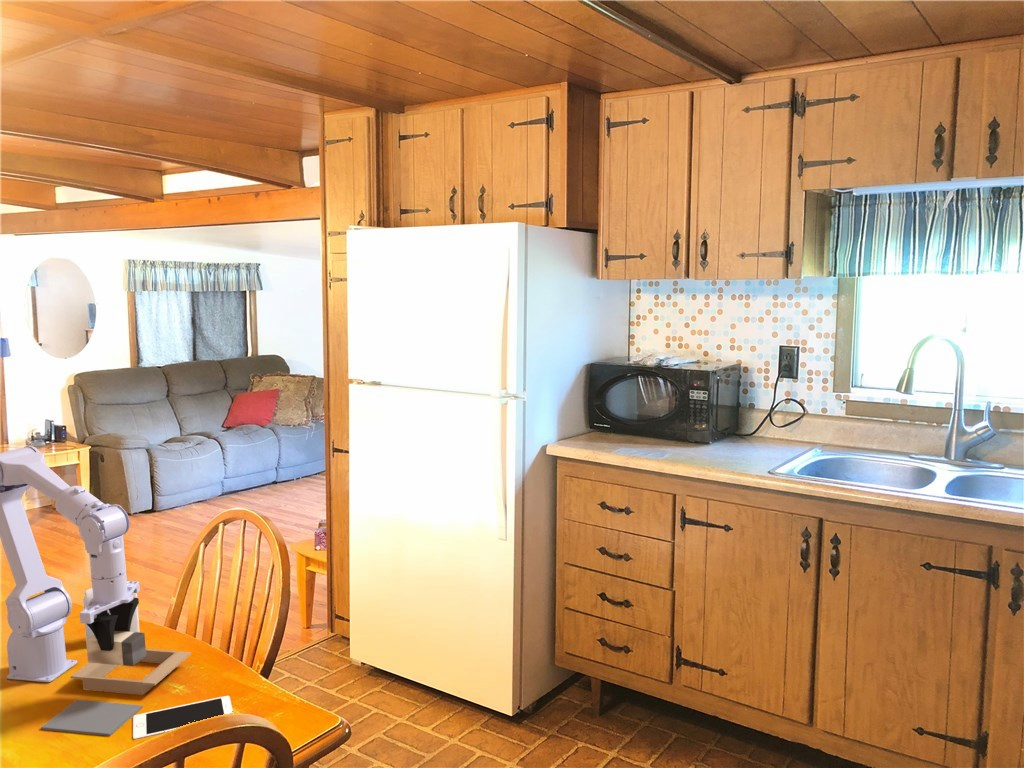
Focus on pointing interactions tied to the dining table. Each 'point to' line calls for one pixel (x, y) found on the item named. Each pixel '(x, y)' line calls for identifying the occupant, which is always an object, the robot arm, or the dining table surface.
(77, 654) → the dining table surface
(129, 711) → the mat
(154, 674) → the tan rectangular frame
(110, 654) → the box
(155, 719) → the cell phone
